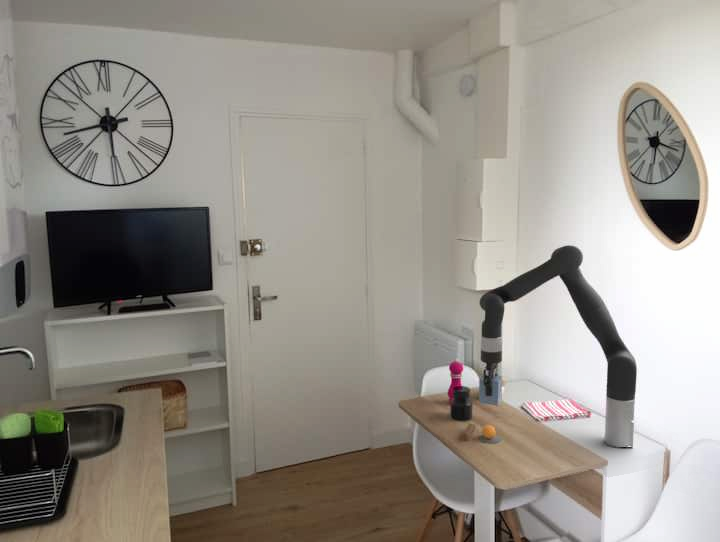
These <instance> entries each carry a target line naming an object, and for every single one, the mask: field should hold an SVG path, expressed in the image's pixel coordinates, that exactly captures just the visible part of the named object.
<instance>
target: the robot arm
mask: <svg viewBox="0 0 720 542" xmlns="http://www.w3.org/2000/svg"><path fill="white" fill-rule="evenodd" d="M583 260H584V254H583V252H582V250H581V249H580V248H579V247H577V246H575V245H570V244H569V245H564V246H560V247H558V248H556V249H554V251H552V253H551V255H550V258H549V259H548V260H547V261H545V262H543V263H542V264H540V265H538V266H536V267H534V268H532V269H530V270H527V271H526V272H524V273H522V274H520V275H518V276H516V277H514V278H513V279H511V280H509V281H508V282H506V283H505V284H503V285H500V286H499V287H495V288H493V289H491V290H488V291H487V292H485V293H483V295H482V296H481V297H480V298H479V299H480V300H479V307H480V308H481V310H482V311H484V320H483V321H482V322H481V336H480V337H481V339H480V361H481V362H483V363H484V364H486V365H485V366H484V369H483V374H484V386H485V395H486V396H492V381H493V380H494V378H495V376H499V363H501V362H502V361H503V356H502V355H503V341H502V328H503V327H502V323H503V319H504V316H505V315H504V314H505V304H507V303H510V302H515V301H518V300H520V299H521V298H523V297H525V296H526V295H528V294H530V293H531V292H533V291H535V290H537V288H539V287H541V286H542V285H544V284H546V283H548V282H549V281H551V280H553V279H555V278H557V277H558V276H559V278H560V279H561V281H562V282H563V284H564V286H565V287H566V289H567V291H568V293H569V296H570V297H571V300H572V302H573V303H574V305H575V308H576V309H577V311H578V314H579V317H581V319H582V321H583V323H584V325H585V326H586V327H587V329H588V330H589V331H590V333H591V334H592V335H593V336H594V338H595V339H596V340H597V342H598V344H599V345H600V347H601V349H602V350H601V351H603V354H604V356H605V360H606V363H607V368H606V369H607V370H606V372H607V373H606V397H605V419H604V420H605V421H604V422H605V423H604V426H605V427H604V442H605V444H607V445H609V446H611V445H612V446H611V447H614V446H617V447H616V448H618V447H628V446H631V447H634V431H635V430H634V429H635V404H636V403H635V402H636V400H635V399H636V391H637V388H636V387H637V386H636V385H637V373H638V371H637V370H638V369H637V362H636V359H635V357H634V355H633V354H632V353H631V351H630V350H629V348H628V347H627V346H626V344H625V343H624V340H623V339H622V338H621V336H620V334H619V332H618V330H617V327H616V325H615V321H614V319H613V317H612V315H611V314H610V311H609V309H608V307H607V305H606V303H605V301H604V299H603V298H602V297H601V295H600V294H599V293H598V292H597V290H595V288H593V286H592V285H591V284H590V283H589V282H588V281H587V279H586V278H585V276H584V275H583V273H582V270H581V269H580V266H581V265H582V264H583ZM487 380H489V383H487Z"/></svg>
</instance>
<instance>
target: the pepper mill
mask: <svg viewBox="0 0 720 542" xmlns="http://www.w3.org/2000/svg"><path fill="white" fill-rule="evenodd" d="M463 365H464V364H462V363H461V362H459V359H458V358H454V360H453V362H451V363H450V364H449V366H448V371H449V372H450V374H449V375H450V376H449V377H450V378H451V382H450V385H449V388H448V390H447V396H448V398H449V399H448V404H449V405H450V402H451V400H452V399H453V388H454V387H456V386H463V385H462V377H463V373H462V372H464V366H463Z"/></svg>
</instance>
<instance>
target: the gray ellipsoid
mask: <svg viewBox="0 0 720 542" xmlns="http://www.w3.org/2000/svg"><path fill="white" fill-rule="evenodd" d="M478 439H479V440H480V441H481V442H483V443H486V444H498V443H500V442H501V441H502V437H501V436H499V435H497V434H495V436H494V437H493V438H492V439H487V438H485V437H484V436H483V435H482V434H480V435H479V437H478Z"/></svg>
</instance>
